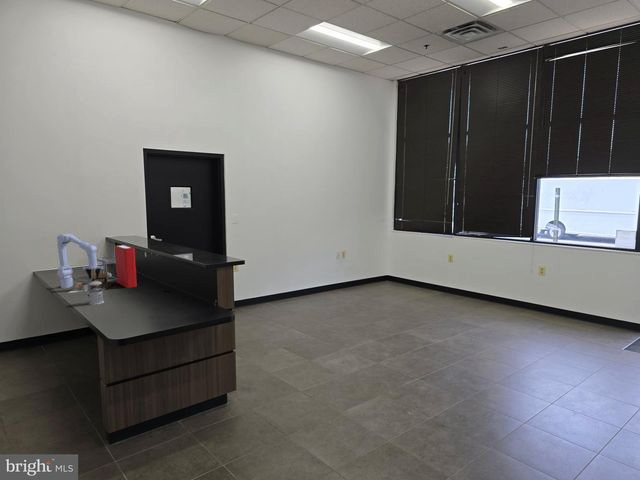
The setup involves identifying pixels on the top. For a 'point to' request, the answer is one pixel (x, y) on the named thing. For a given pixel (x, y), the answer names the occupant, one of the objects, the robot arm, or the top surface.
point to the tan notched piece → (88, 287)
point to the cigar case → (99, 277)
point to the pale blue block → (85, 288)
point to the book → (125, 265)
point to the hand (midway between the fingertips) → (93, 278)
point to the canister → (78, 286)
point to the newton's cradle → (106, 267)
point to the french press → (96, 293)
